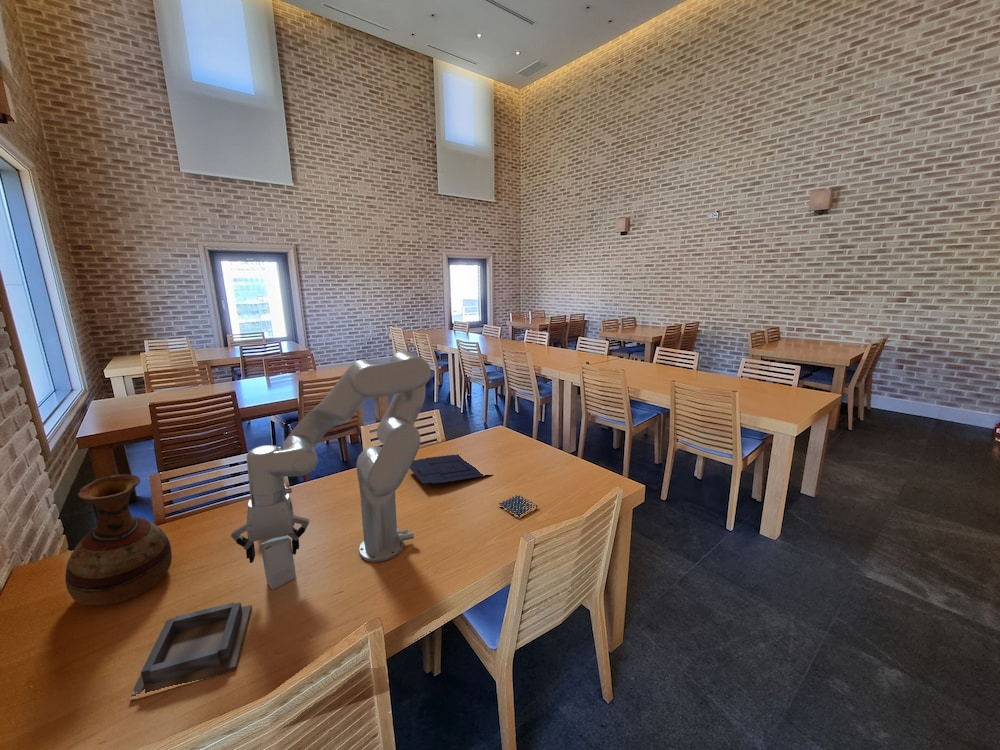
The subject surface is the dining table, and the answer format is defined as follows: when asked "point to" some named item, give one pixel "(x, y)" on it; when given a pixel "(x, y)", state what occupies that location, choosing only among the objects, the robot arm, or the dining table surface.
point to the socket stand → (195, 647)
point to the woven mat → (516, 505)
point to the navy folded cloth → (443, 469)
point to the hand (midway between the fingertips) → (274, 555)
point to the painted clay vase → (116, 547)
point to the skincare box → (278, 561)
